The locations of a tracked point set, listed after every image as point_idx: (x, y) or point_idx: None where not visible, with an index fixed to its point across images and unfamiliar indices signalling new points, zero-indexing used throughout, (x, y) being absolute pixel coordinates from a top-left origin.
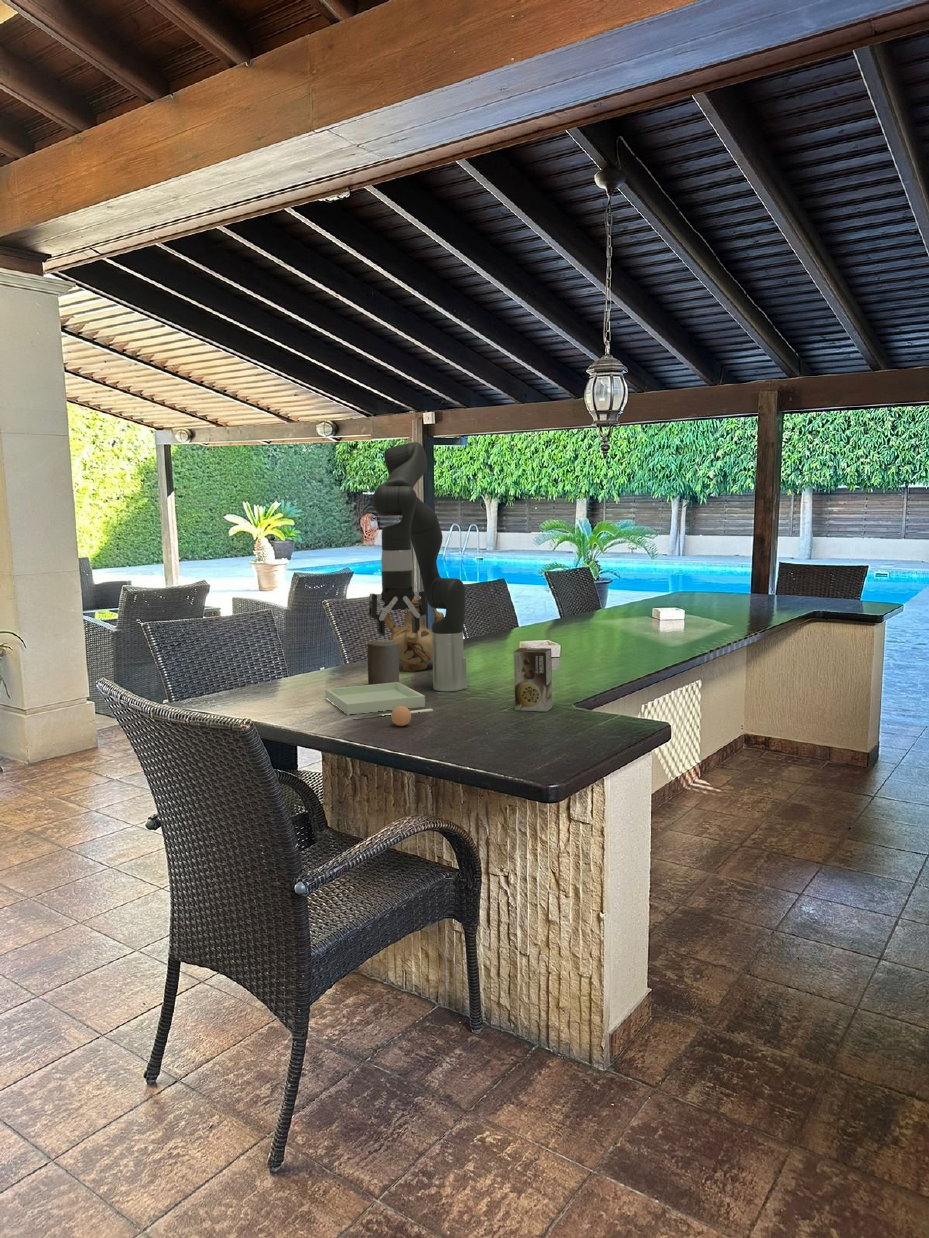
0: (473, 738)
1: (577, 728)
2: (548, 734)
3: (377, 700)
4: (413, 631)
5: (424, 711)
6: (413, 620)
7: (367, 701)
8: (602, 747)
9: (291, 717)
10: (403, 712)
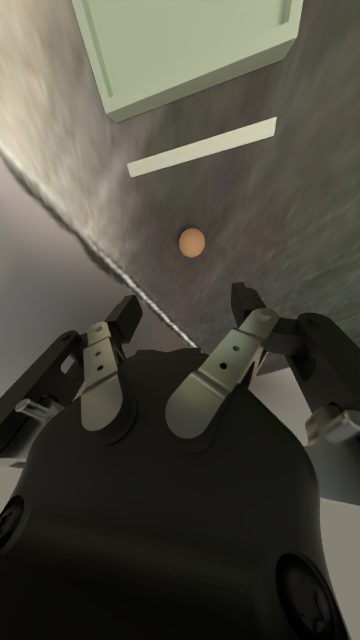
0: None
1: (349, 312)
2: None
3: (168, 78)
4: (232, 295)
5: (254, 141)
6: (240, 319)
7: (145, 85)
8: None
9: (14, 99)
10: (192, 256)
